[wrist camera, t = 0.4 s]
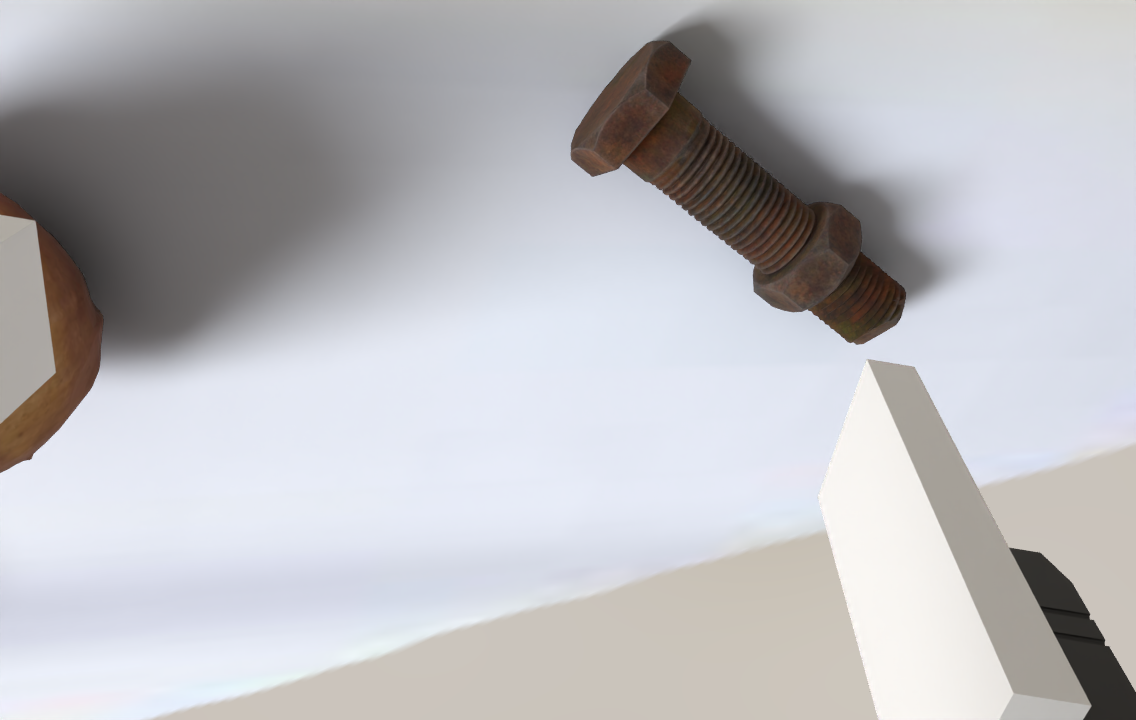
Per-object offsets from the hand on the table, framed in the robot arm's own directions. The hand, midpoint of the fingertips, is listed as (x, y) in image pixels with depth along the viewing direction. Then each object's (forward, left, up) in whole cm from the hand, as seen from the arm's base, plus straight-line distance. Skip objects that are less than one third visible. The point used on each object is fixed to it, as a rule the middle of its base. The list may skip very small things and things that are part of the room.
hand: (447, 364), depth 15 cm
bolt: (+5, +9, -26) cm, 28 cm away
